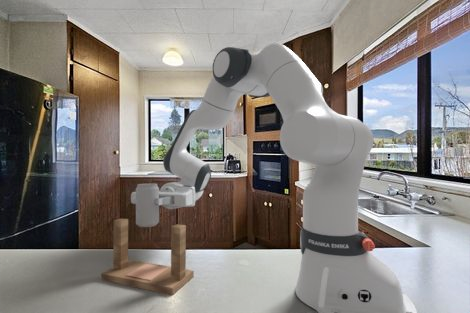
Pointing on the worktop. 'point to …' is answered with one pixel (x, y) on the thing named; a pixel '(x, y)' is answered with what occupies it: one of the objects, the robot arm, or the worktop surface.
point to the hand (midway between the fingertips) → (145, 201)
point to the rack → (148, 273)
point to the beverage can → (147, 205)
